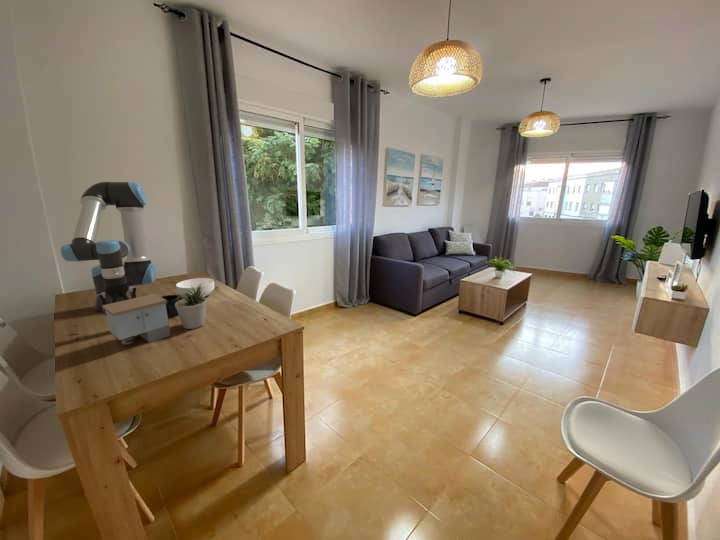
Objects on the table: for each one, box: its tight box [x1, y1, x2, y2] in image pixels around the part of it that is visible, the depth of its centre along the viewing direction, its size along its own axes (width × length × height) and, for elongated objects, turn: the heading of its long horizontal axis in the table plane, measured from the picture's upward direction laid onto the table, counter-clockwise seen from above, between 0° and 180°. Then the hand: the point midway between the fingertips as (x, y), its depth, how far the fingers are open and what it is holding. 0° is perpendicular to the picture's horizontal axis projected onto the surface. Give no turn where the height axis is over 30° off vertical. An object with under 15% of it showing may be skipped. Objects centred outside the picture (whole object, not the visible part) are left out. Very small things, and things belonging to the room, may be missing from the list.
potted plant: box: [175, 285, 208, 330], centre depth 134 cm, size 13×14×20 cm
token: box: [120, 337, 136, 346], centre depth 120 cm, size 4×4×1 cm
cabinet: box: [102, 293, 171, 344], centre depth 121 cm, size 14×18×16 cm
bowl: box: [175, 277, 215, 299], centre depth 174 cm, size 20×20×8 cm
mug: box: [161, 294, 180, 319], centre depth 146 cm, size 9×12×9 cm
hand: (124, 326), depth 132 cm, fingers closed on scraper, 4 cm apart
